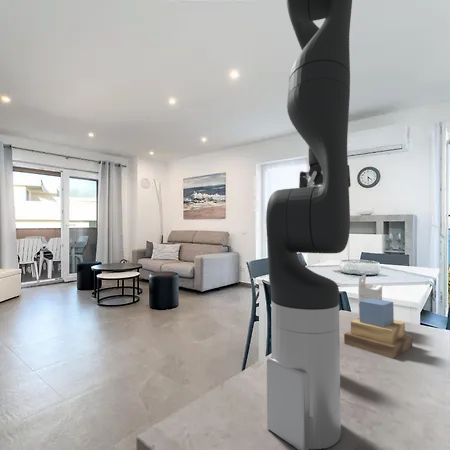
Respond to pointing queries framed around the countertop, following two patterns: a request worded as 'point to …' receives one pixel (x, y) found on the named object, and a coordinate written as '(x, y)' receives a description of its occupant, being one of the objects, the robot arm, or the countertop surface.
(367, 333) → the oak top slab
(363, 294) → the ink cartridge box
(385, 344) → the walnut base slab
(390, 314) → the slate block
